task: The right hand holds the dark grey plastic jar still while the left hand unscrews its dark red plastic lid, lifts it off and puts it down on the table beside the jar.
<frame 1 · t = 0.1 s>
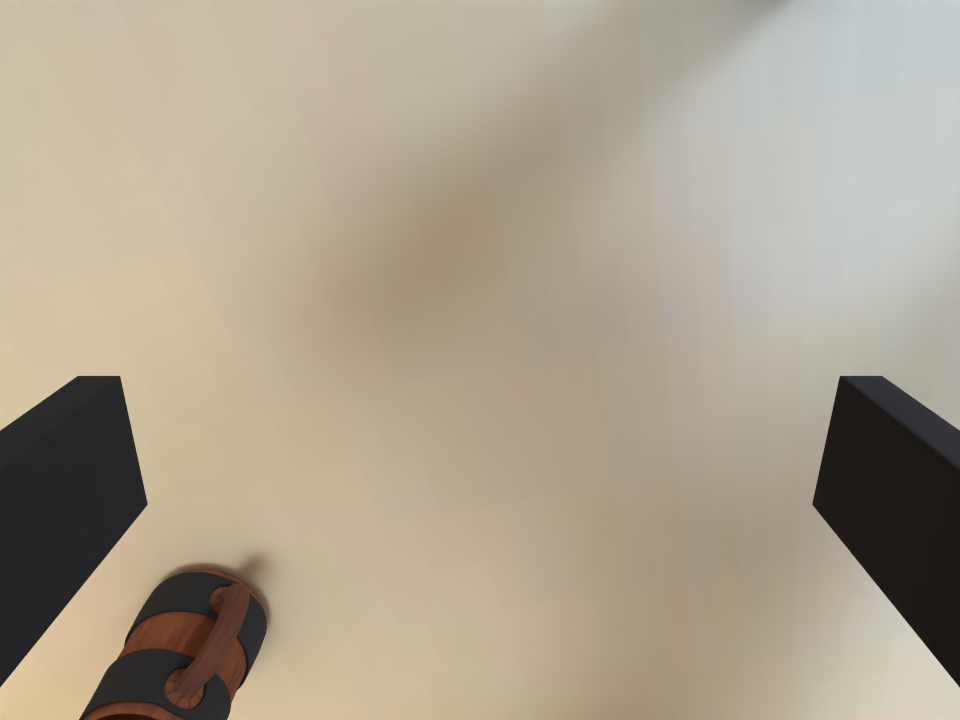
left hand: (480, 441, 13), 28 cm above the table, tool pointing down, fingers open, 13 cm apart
mug: (224, 594, 49), on the table
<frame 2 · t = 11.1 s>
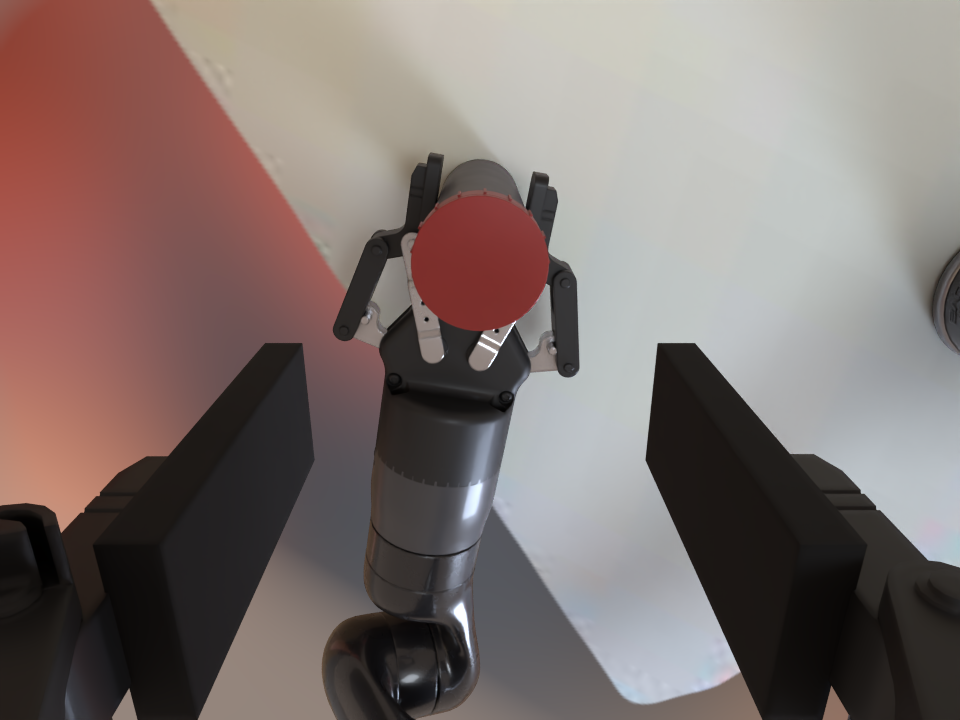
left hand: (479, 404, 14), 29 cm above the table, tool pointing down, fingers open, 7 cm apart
right hand: (488, 166, 34), fingers closed on jar, 4 cm apart
jar: (479, 199, 41), on the table, touching right hand
lid: (479, 263, 26), point 17 cm above the table, screwed on, not yet turned
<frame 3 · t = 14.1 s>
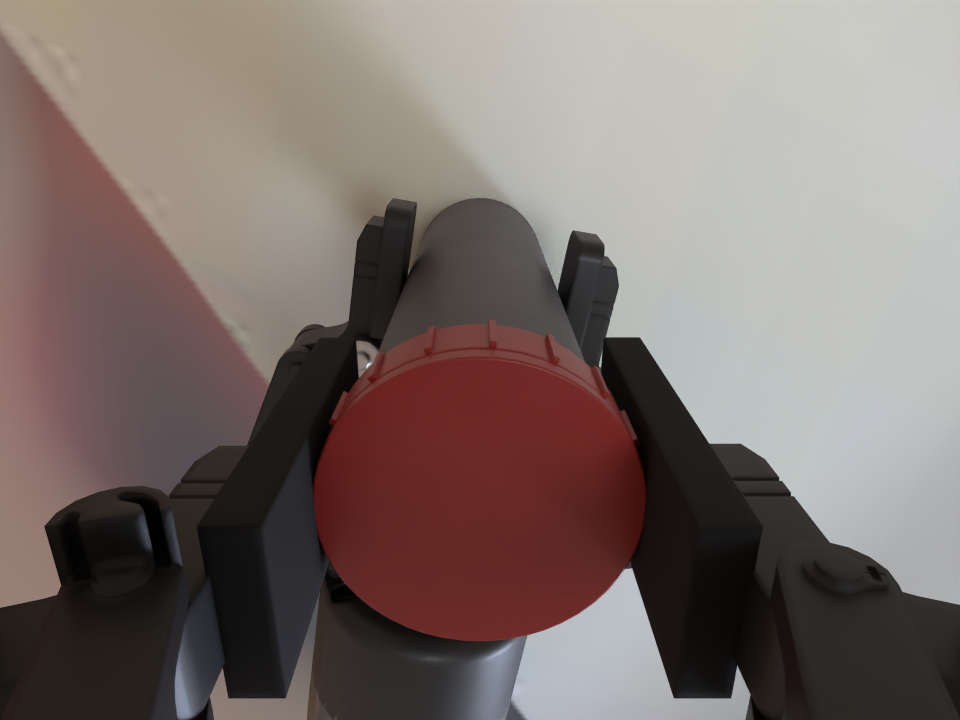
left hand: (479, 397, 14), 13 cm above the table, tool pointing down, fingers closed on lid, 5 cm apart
jar: (479, 259, 26), on the table, touching right hand
lid: (479, 500, 11), point 17 cm above the table, screwed on, not yet turned, touching left hand
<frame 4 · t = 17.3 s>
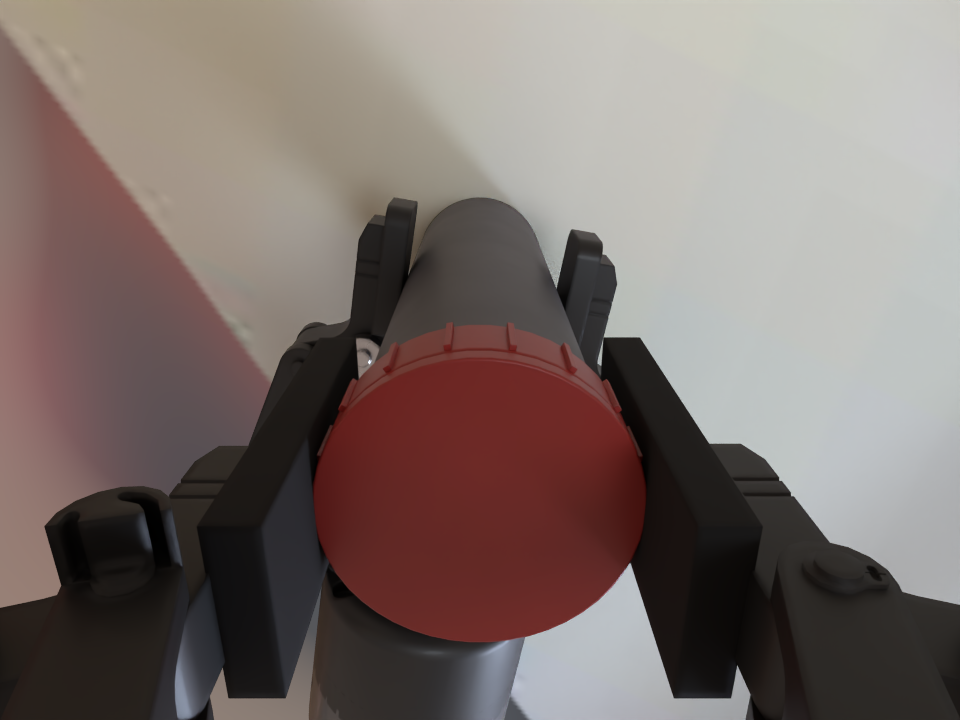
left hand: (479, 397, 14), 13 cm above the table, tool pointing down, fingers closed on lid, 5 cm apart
jar: (479, 258, 27), on the table, touching right hand
lid: (479, 501, 11), point 17 cm above the table, turned 99° so far, risen 0.3 cm, still on its thread, touching left hand
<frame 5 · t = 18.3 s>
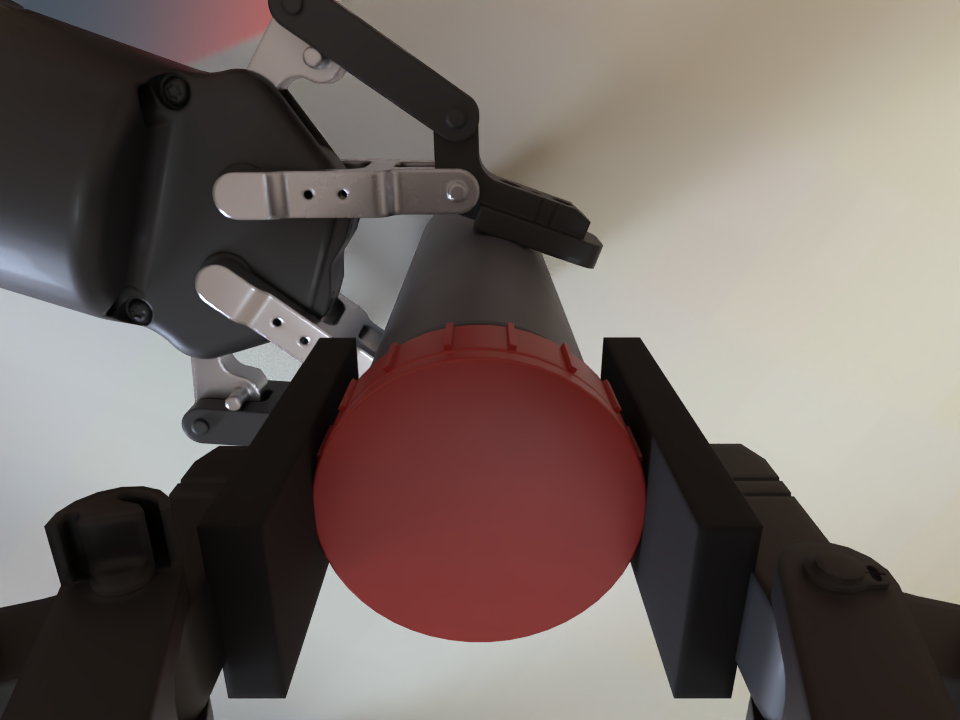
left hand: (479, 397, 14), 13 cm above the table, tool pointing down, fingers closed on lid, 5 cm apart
right hand: (559, 330, 21), fingers closed on jar, 4 cm apart
jar: (478, 255, 27), on the table, touching right hand
lid: (479, 501, 11), point 17 cm above the table, off its thread, touching left hand
when the left hand's fingers open (0 cm above the table, at t = 26.2 s): lid drops 3 cm, point 1 cm above the table.
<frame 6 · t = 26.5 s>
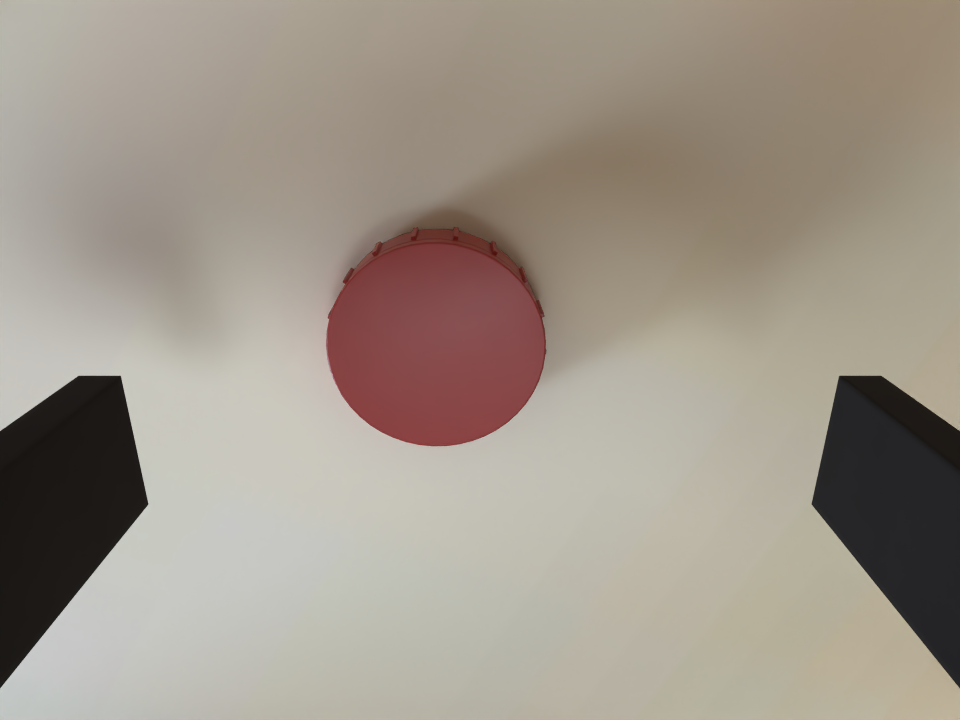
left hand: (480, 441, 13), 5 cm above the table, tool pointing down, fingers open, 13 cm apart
lid: (437, 345, 16), point 1 cm above the table, off its thread
when the right hand's fingers open (7 cm above the table, at t = 26.8 s): jar stays where it is, on the table.
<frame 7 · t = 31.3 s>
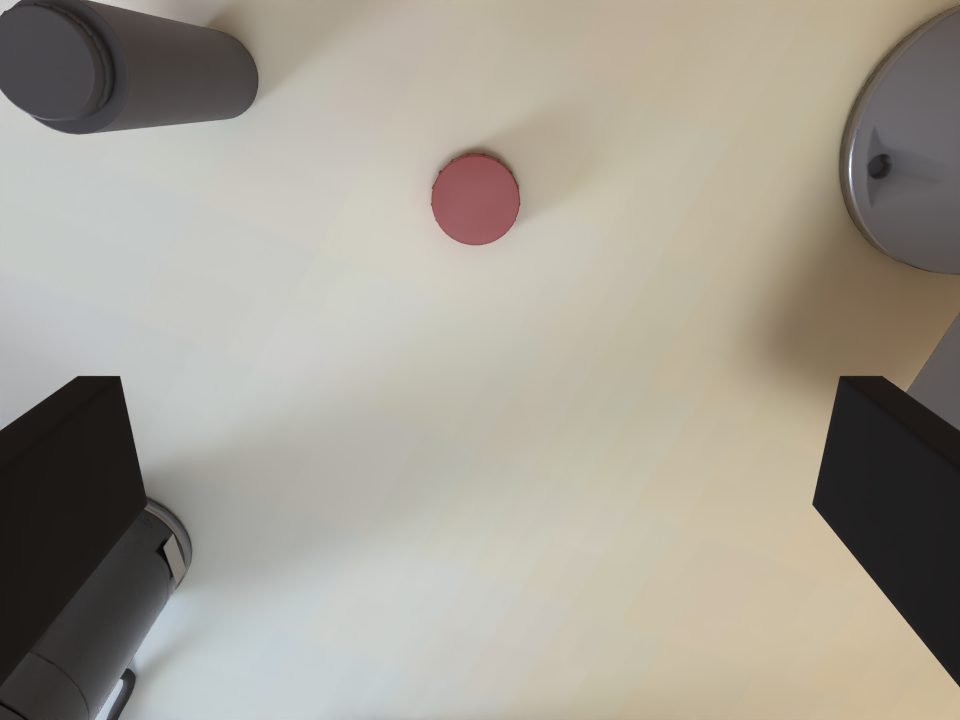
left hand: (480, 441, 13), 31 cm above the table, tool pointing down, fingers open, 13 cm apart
jar: (217, 75, 38), on the table
lid: (475, 200, 40), point 1 cm above the table, off its thread
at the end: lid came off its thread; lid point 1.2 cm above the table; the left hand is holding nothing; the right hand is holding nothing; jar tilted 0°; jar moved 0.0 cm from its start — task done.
